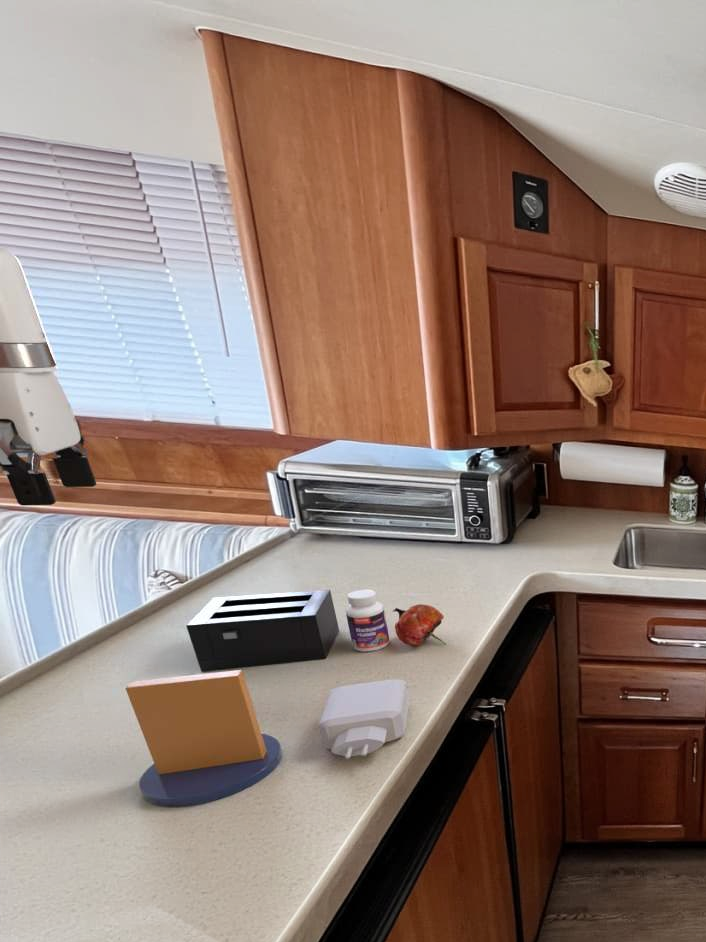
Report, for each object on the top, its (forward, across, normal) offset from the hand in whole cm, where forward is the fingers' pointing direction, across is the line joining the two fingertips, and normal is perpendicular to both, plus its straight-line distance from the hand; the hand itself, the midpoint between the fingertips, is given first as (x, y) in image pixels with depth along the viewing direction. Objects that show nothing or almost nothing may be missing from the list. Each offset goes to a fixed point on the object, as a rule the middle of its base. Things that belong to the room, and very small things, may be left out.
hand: (60, 495), depth 84 cm
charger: (+28, +26, +34) cm, 51 cm away
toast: (+27, +28, +18) cm, 43 cm away
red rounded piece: (+28, -3, +38) cm, 48 cm away
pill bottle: (+28, -4, +30) cm, 42 cm away
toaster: (+28, -6, +16) cm, 33 cm away
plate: (+28, +28, +18) cm, 44 cm away
